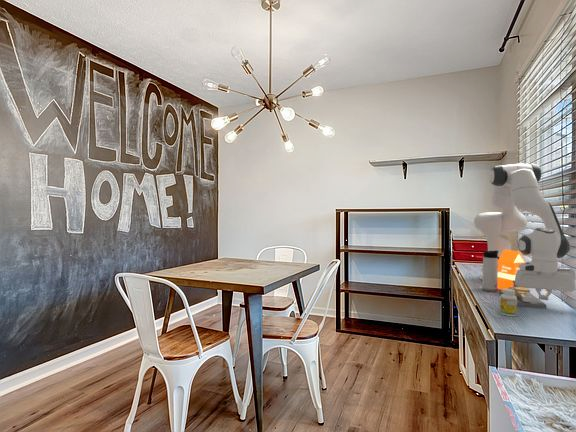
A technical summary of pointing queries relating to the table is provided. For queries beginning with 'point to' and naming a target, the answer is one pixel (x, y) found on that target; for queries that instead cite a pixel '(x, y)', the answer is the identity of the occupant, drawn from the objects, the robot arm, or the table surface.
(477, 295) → the table surface
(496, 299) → the table surface
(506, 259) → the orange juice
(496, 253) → the travel mug
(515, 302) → the supplement bottle
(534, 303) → the base plate
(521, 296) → the arm link
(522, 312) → the table surface
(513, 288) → the keeper clip
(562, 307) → the table surface
